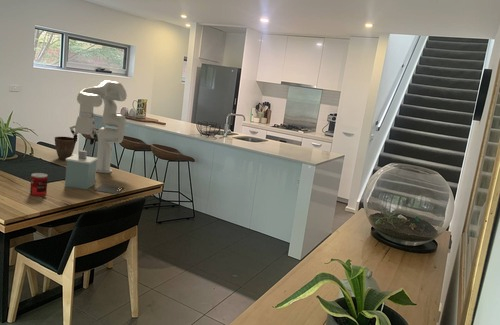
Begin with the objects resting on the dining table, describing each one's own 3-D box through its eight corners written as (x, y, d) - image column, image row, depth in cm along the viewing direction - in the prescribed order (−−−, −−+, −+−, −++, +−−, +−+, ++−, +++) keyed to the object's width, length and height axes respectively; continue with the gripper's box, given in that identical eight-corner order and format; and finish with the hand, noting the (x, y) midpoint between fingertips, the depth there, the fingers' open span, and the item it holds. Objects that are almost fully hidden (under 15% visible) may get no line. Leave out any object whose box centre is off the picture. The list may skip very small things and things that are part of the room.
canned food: (33, 191, 212) (35, 172, 210) (48, 193, 213) (50, 174, 211) (27, 195, 205) (28, 175, 203) (42, 197, 206) (44, 177, 204)
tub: (73, 180, 242) (75, 156, 239) (94, 184, 243) (96, 159, 240) (64, 186, 229) (66, 160, 227) (86, 189, 230) (89, 163, 227)
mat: (102, 184, 244) (102, 184, 244) (124, 188, 245) (124, 187, 245) (94, 190, 230) (94, 190, 230) (117, 194, 231) (117, 193, 231)
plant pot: (69, 162, 284) (70, 141, 282) (49, 159, 284) (50, 138, 281) (78, 158, 299) (79, 138, 296) (59, 155, 299) (60, 135, 296)
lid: (75, 157, 240) (76, 147, 239) (97, 161, 241) (98, 151, 240) (65, 161, 226) (66, 151, 225) (89, 165, 227) (90, 154, 226)
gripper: (102, 117, 232) (100, 144, 235) (73, 112, 231) (71, 140, 234) (98, 117, 225) (95, 146, 228) (68, 112, 224) (66, 141, 227)
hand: (83, 143), depth 231 cm, fingers open, 9 cm apart
